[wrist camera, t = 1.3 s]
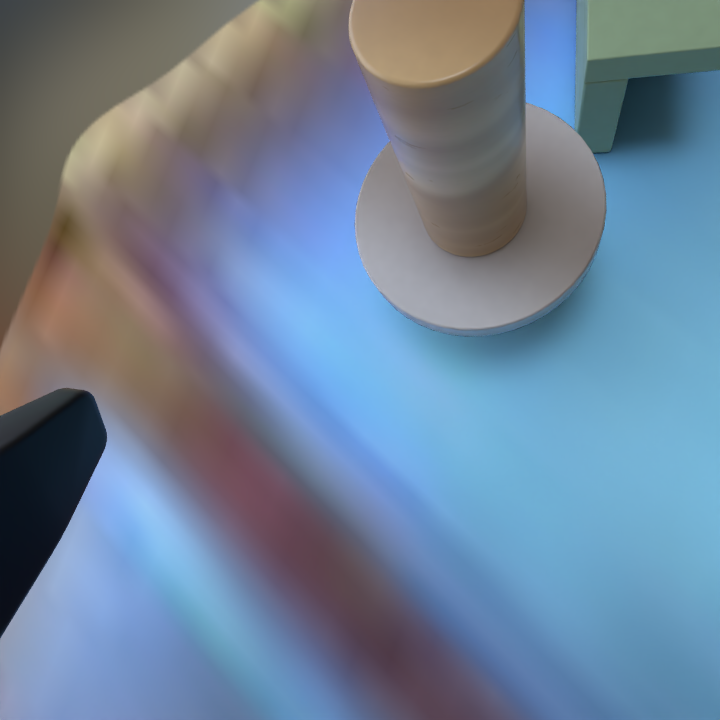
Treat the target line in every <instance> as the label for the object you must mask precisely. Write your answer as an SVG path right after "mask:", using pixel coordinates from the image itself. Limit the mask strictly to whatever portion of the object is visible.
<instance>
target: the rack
mask: <svg viewBox="0 0 720 720" xmlns="http://www.w3.org/2000/svg"><path fill="white" fill-rule="evenodd" d="M715 70H720V0H577V9H576V72H575V131H576V132H577V133H578V134H579V135H580V136H581V137H582V138H583V140H584V141H585V143H586V144H587V145H588V147H589V148H590V149H591V151H592V153H600V152H610V151H611V149H612V145H613V141H614V137H615V132H616V128H617V124H618V120H619V116H620V112H621V108H622V104H623V100H624V95H625V91H626V87H627V83H628V79H629V78H639V77H650V76H661V75H672V74H683V73H693V72H704V71H715Z"/></svg>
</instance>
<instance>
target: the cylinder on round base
mask: <svg viewBox="0 0 720 720" xmlns="http://www.w3.org/2000/svg"><path fill="white" fill-rule="evenodd" d="M348 28H349V38H350V42H351V46H352V49H353V51H354V54H355V56H356V59H357V61H358V64H359V66H360V69H361V71H362V74H363V76H364V78H365V81H366V83H367V86H368V88H369V91H370V93H371V96H372V98H373V101H374V103H375V106H376V108H377V110H378V113H379V115H380V118H381V120H382V123H383V125H384V128H385V130H386V133H387V135H388V138H389V140H390V142H389V143H388V144H387V145H386V146H385V147H384V149H383V150H382V151H381V152H380V153H379V155H378V156H377V158H376V159H375V161H374V162H373V164H372V165H371V167H370V169H369V171H368V173H367V175H366V177H365V179H364V181H363V184H362V187H361V190H360V193H359V196H358V201H357V207H356V214H355V234H356V242H357V247H358V252H359V255H360V258H361V260H362V263H363V266H364V268H365V270H366V272H367V274H368V275H369V277H370V279H371V281H372V282H373V283H374V285H375V286H376V287H377V289H378V290H379V291H380V293H381V294H382V295H383V297H384V298H385V299H386V300H387V301H388V302H389V303H390V304H391V305H392V306H393V307H394V308H395V309H396V310H398V311H399V312H400V313H401V314H403V315H404V316H405V317H407V318H409V319H410V320H412V321H414V322H416V323H417V324H419V325H421V326H424V327H426V328H429V329H431V330H434V331H438V332H442V333H446V334H450V335H458V336H487V335H495V334H500V333H504V332H508V331H512V330H515V329H518V328H520V327H523V326H525V325H528V324H530V323H532V322H534V321H536V320H538V319H539V318H541V317H543V316H545V315H546V314H548V313H549V312H550V311H552V310H553V309H555V308H556V307H557V306H559V305H560V304H561V303H562V302H563V301H564V300H565V299H566V298H567V297H568V296H569V295H570V294H571V293H572V292H573V291H574V290H575V289H576V287H577V286H578V285H579V284H580V282H581V281H582V280H583V278H584V277H585V275H586V273H587V272H588V270H589V268H590V267H591V265H592V262H593V260H594V258H595V256H596V253H597V251H598V247H599V244H600V240H601V237H602V233H603V230H604V225H605V218H606V191H605V185H604V179H603V176H602V173H601V170H600V167H599V164H598V162H597V161H596V159H595V157H594V155H593V153H592V151H591V149H590V148H589V147H588V145H587V144H586V143H585V141H584V140H583V138H582V137H581V136H580V135H579V134H578V133H577V132H576V131H575V130H574V129H573V128H572V127H571V126H570V125H568V124H567V123H566V122H564V121H563V120H562V119H560V118H559V117H557V116H556V115H554V114H552V113H550V112H548V111H547V110H545V109H542V108H540V107H537V106H535V105H532V104H529V103H526V98H525V6H524V0H353V2H352V5H351V10H350V15H349V27H348Z"/></svg>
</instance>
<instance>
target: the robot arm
mask: <svg viewBox="0 0 720 720" xmlns="http://www.w3.org/2000/svg"><path fill="white" fill-rule="evenodd" d="M106 442H107V433H106V429H105V426H104V423H103V421H102V418H101V415H100V412H99V409H98V407H97V404H96V401H95V399H94V396H93V395H92V394H91V393H90V392H88V391H85V390H78V389H70V388H62V389H58V390H56V391H54V392H51V393H49V394H47V395H45V396H43V397H41V398H38V399H36V400H34V401H32V402H30V403H27V404H25V405H23V406H21V407H19V408H16V409H14V410H12V411H10V412H8V413H6V414H3V415H1V416H0V638H1V636H2V635H3V633H4V631H5V630H6V628H7V626H8V625H9V623H10V622H11V620H12V618H13V617H14V615H15V613H16V612H17V610H18V608H19V607H20V605H21V604H22V602H23V600H24V599H25V597H26V595H27V594H28V592H29V590H30V589H31V587H32V586H33V584H34V582H35V581H36V579H37V577H38V576H39V574H40V573H41V571H42V569H43V568H44V566H45V564H46V563H47V561H48V559H49V558H50V556H51V555H52V553H53V551H54V549H55V548H56V546H57V544H58V543H59V541H60V539H61V537H62V535H63V533H64V532H65V530H66V528H67V526H68V524H69V522H70V520H71V518H72V516H73V514H74V512H75V509H76V507H77V505H78V503H79V501H80V499H81V497H82V495H83V493H84V491H85V489H86V487H87V485H88V482H89V480H90V478H91V476H92V474H93V472H94V470H95V468H96V466H97V464H98V462H99V460H100V458H101V456H102V453H103V451H104V449H105V446H106Z"/></svg>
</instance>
